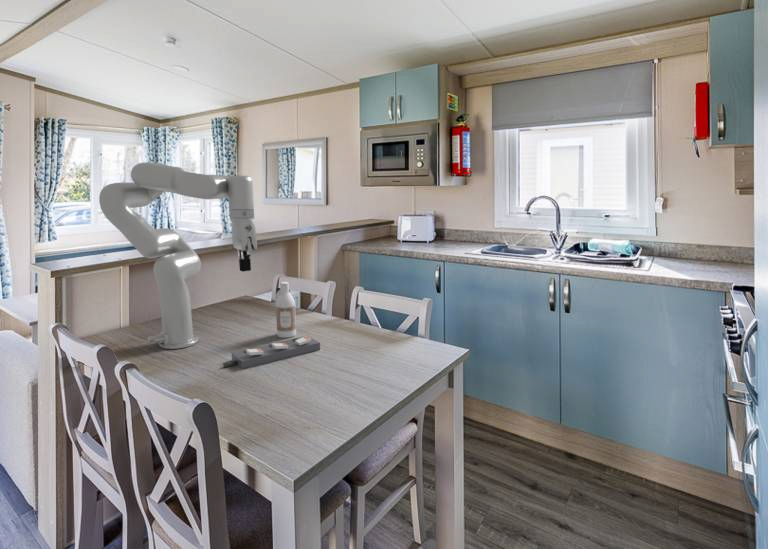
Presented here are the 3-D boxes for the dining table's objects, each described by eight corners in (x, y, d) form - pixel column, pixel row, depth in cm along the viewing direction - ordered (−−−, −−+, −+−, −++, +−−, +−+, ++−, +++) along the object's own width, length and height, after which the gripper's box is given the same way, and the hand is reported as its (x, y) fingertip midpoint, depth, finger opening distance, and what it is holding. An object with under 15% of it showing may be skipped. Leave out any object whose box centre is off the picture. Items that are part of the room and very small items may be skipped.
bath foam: (276, 338, 165) (273, 285, 161) (278, 332, 172) (275, 280, 168) (295, 337, 166) (293, 284, 162) (296, 331, 173) (294, 280, 169)
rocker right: (299, 345, 150) (299, 342, 150) (295, 342, 153) (294, 340, 152) (311, 340, 153) (310, 338, 152) (306, 338, 155) (306, 335, 155)
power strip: (229, 372, 136) (228, 363, 135) (219, 362, 143) (218, 354, 142) (320, 349, 154) (319, 342, 154) (307, 342, 161) (307, 335, 161)
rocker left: (249, 355, 140) (250, 352, 140) (245, 352, 142) (246, 349, 142) (263, 354, 143) (263, 351, 143) (259, 351, 145) (259, 348, 145)
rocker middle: (275, 348, 145) (276, 345, 145) (271, 346, 147) (271, 343, 147) (288, 348, 148) (288, 345, 148) (283, 345, 150) (284, 342, 150)
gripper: (262, 215, 143) (265, 273, 146) (244, 213, 154) (248, 266, 158) (238, 216, 138) (242, 275, 142) (222, 213, 150) (226, 268, 154)
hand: (245, 270), depth 150 cm, fingers closed
